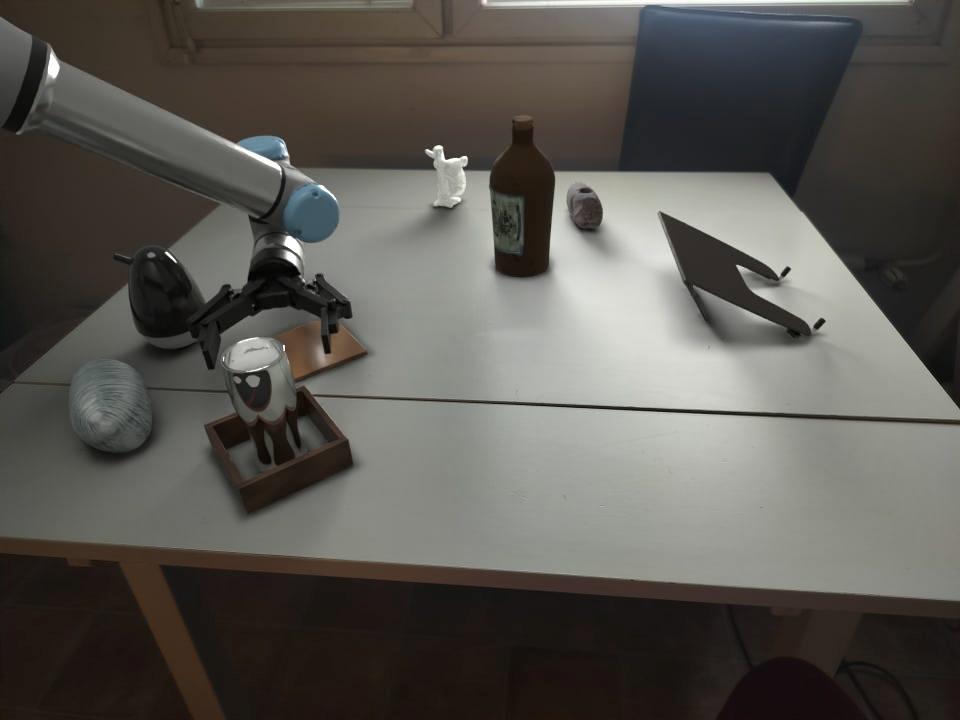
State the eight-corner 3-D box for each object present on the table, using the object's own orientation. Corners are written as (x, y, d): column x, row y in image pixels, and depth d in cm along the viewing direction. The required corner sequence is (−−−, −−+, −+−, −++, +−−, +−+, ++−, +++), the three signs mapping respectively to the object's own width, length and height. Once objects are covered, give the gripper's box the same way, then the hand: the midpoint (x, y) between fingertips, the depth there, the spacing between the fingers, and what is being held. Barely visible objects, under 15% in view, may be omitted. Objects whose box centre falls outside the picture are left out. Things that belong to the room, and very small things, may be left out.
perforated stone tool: (559, 205, 137) (561, 172, 133) (585, 203, 137) (587, 170, 133) (575, 236, 125) (578, 200, 121) (603, 234, 125) (606, 198, 121)
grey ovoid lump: (92, 409, 89) (29, 379, 80) (149, 362, 90) (92, 327, 81) (130, 481, 82) (65, 457, 73) (191, 429, 83) (134, 399, 74)
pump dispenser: (160, 321, 105) (127, 231, 96) (225, 320, 104) (198, 230, 95) (130, 358, 96) (91, 264, 88) (200, 358, 96) (168, 264, 87)
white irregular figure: (427, 210, 137) (422, 152, 130) (431, 197, 143) (427, 141, 136) (468, 210, 136) (465, 151, 129) (470, 197, 142) (468, 141, 135)
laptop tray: (790, 381, 96) (836, 334, 91) (655, 320, 92) (694, 267, 87) (749, 300, 115) (784, 257, 110) (634, 246, 111) (666, 199, 105)
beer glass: (305, 477, 76) (277, 372, 67) (244, 479, 76) (208, 374, 67) (316, 436, 81) (292, 334, 73) (260, 438, 81) (229, 336, 73)
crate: (247, 514, 71) (238, 488, 69) (212, 449, 80) (203, 424, 78) (353, 465, 77) (348, 439, 75) (310, 409, 86) (304, 384, 83)
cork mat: (288, 384, 90) (287, 381, 90) (257, 345, 98) (257, 341, 98) (367, 353, 96) (367, 350, 95) (332, 318, 104) (332, 315, 103)
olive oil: (518, 245, 122) (518, 104, 108) (564, 262, 116) (571, 115, 102) (478, 266, 116) (473, 120, 102) (525, 285, 110) (526, 133, 96)
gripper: (367, 282, 100) (377, 363, 83) (194, 303, 96) (167, 392, 79) (360, 236, 95) (369, 311, 78) (179, 256, 92) (147, 340, 75)
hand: (267, 352), depth 79 cm, fingers open, 13 cm apart
